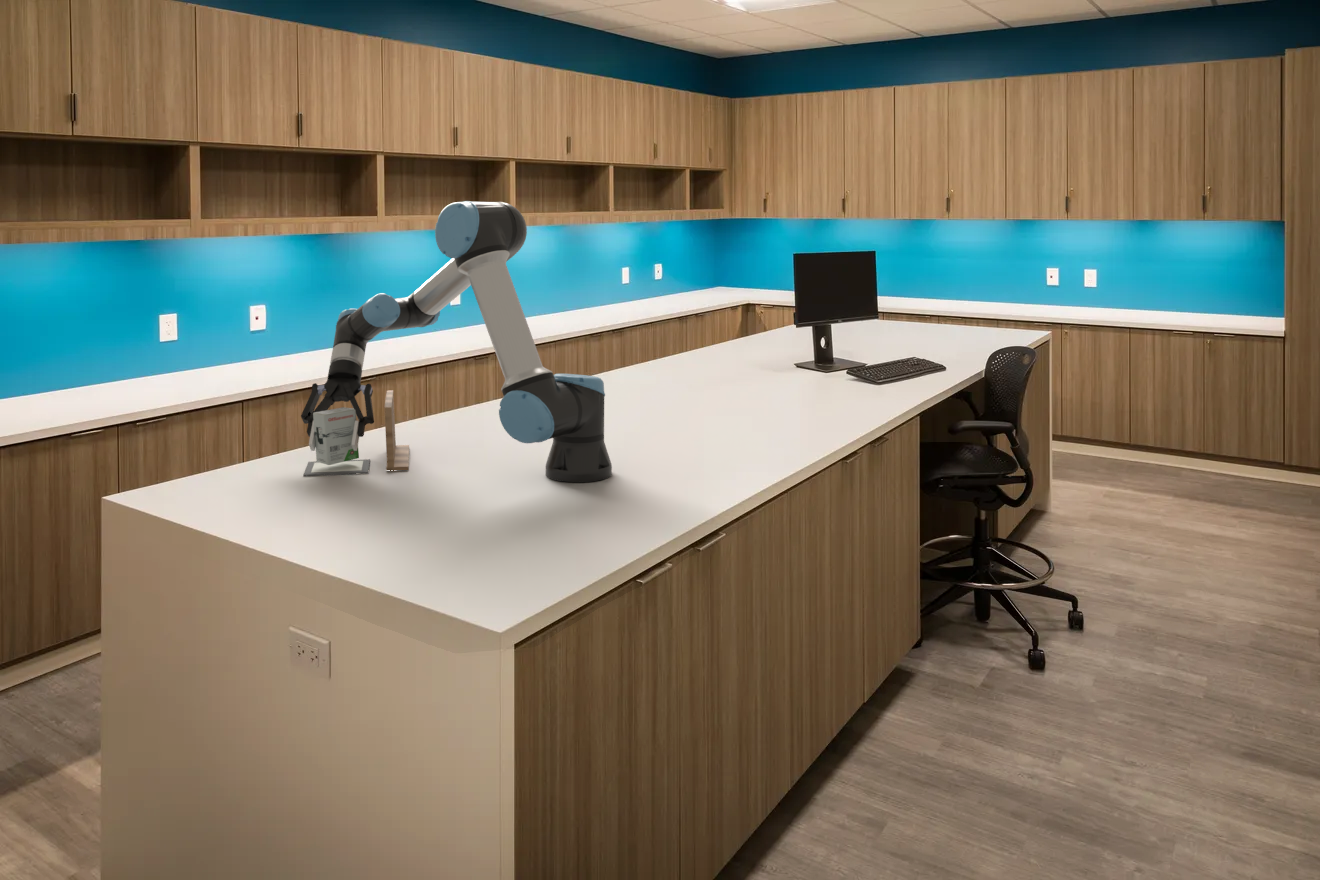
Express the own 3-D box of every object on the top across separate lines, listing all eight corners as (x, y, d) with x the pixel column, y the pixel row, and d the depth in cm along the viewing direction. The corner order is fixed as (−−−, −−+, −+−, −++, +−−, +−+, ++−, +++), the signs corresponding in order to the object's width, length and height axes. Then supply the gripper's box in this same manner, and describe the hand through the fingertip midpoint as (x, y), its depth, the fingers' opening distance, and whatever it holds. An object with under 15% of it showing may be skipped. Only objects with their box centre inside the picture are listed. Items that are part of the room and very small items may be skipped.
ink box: (347, 455, 245) (344, 405, 243) (360, 458, 242) (357, 408, 240) (314, 462, 239) (311, 411, 236) (327, 465, 236) (324, 414, 233)
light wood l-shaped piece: (408, 470, 240) (406, 406, 236) (386, 471, 238) (383, 407, 235) (409, 448, 260) (406, 389, 257) (388, 449, 259) (385, 390, 256)
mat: (368, 473, 237) (367, 471, 237) (303, 476, 234) (303, 474, 233) (370, 460, 248) (370, 458, 248) (308, 463, 245) (308, 461, 245)
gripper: (394, 376, 252) (384, 456, 240) (304, 376, 251) (289, 456, 239) (389, 357, 246) (378, 438, 234) (296, 357, 245) (280, 438, 233)
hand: (333, 447), depth 236 cm, fingers closed on ink box, 9 cm apart
